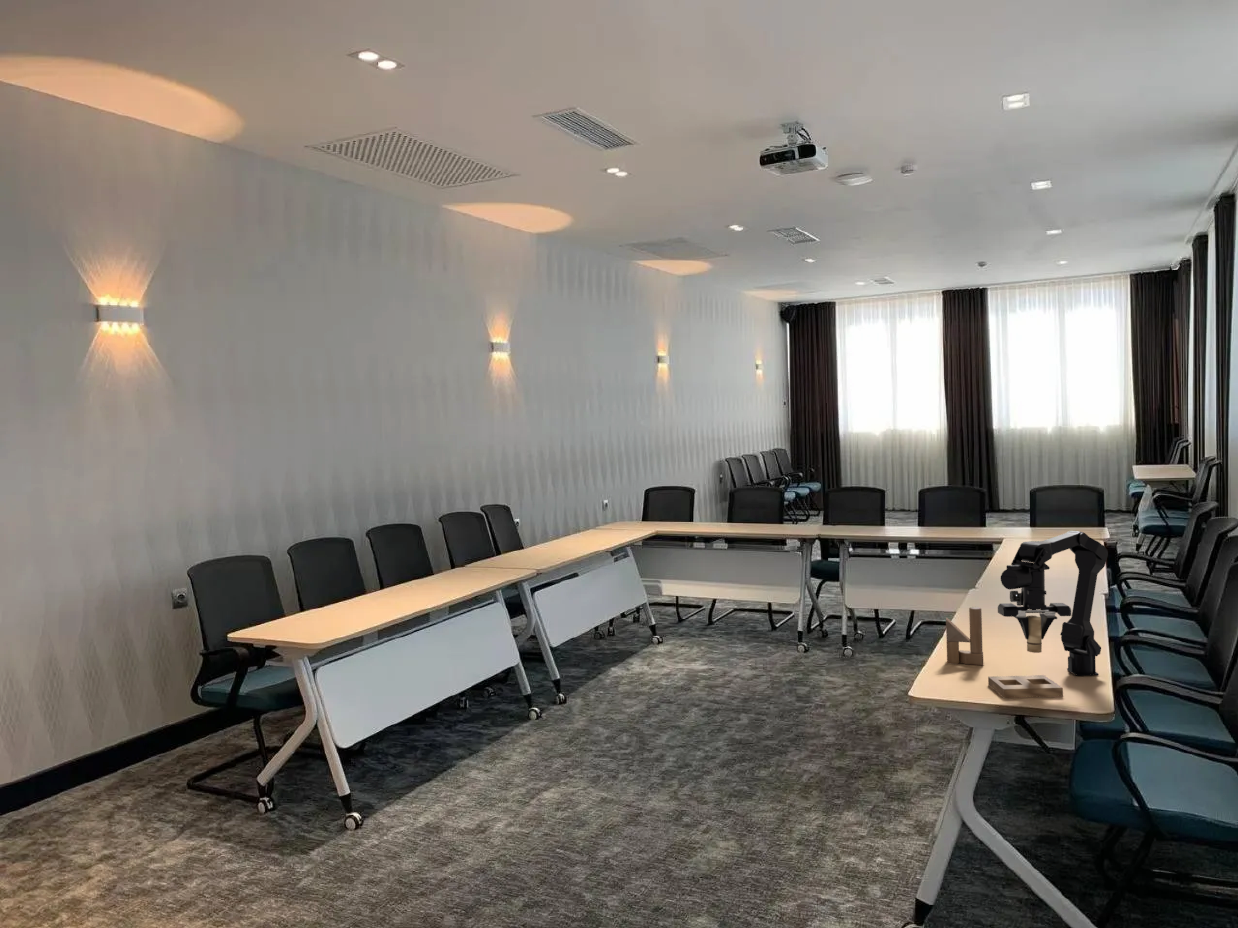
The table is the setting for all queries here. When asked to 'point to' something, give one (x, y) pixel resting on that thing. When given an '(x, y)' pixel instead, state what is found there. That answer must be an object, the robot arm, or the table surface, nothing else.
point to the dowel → (1034, 635)
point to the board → (1025, 686)
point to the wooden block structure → (965, 640)
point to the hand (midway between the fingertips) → (1034, 639)
